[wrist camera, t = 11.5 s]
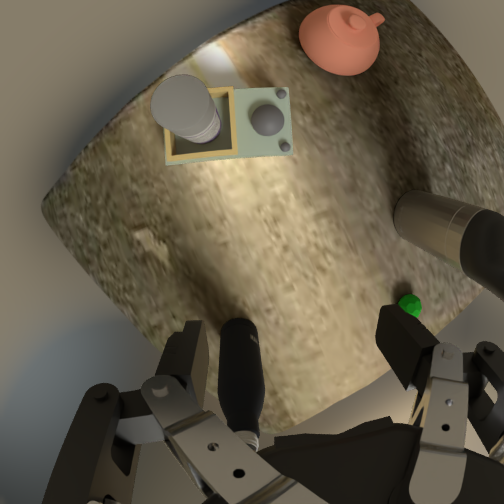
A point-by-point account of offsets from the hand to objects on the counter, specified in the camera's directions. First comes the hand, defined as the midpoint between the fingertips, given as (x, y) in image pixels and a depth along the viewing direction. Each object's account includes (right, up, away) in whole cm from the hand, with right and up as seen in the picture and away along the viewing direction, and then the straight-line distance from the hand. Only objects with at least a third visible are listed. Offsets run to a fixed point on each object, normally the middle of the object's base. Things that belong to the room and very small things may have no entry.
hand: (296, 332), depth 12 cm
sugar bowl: (+12, +36, +22) cm, 44 cm away
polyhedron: (+28, -6, +37) cm, 47 cm away
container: (-8, +19, +20) cm, 29 cm away
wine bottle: (-4, -11, +37) cm, 38 cm away
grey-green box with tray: (-5, +21, +26) cm, 34 cm away
